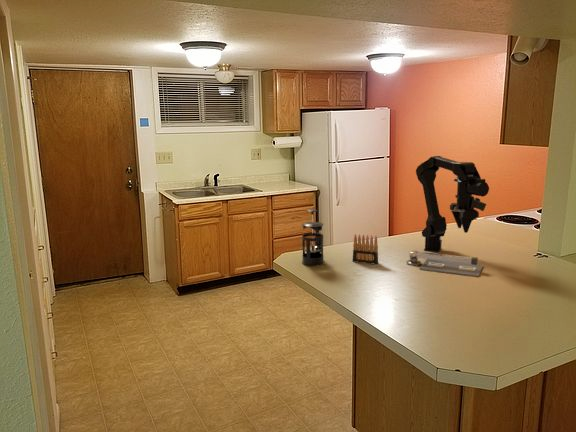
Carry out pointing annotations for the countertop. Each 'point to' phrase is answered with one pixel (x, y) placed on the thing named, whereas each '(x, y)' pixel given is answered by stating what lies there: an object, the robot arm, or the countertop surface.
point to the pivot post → (413, 262)
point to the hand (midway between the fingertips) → (462, 230)
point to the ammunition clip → (365, 250)
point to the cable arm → (444, 257)
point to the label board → (452, 267)
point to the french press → (316, 252)
